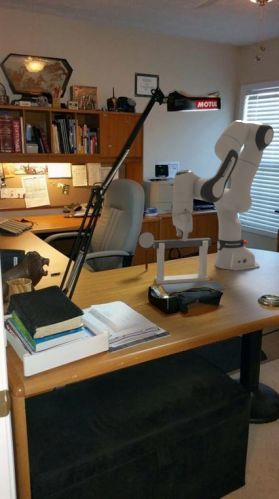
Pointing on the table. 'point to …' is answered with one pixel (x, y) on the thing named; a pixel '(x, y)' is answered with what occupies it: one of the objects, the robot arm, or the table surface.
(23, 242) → the table surface
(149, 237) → the magnifying glass
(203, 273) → the frame
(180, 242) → the rail
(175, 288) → the mat
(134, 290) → the table surface
